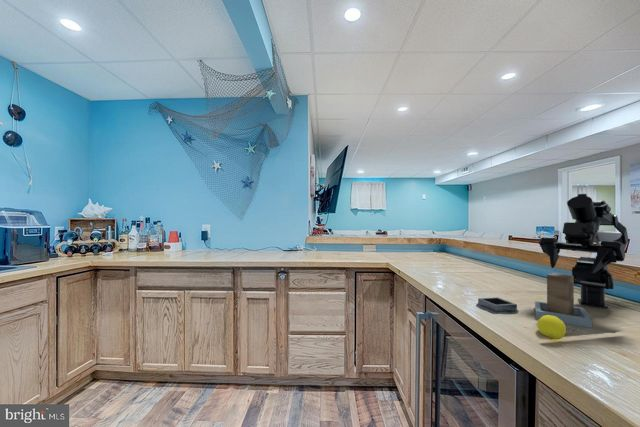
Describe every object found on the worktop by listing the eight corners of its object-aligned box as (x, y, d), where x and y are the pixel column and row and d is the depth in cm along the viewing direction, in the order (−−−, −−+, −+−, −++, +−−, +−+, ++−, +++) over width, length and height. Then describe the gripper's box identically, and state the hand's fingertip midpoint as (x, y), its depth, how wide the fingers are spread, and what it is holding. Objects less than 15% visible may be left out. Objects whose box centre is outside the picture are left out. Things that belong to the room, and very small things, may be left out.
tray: (535, 310, 85) (535, 300, 85) (583, 318, 79) (583, 307, 79) (536, 321, 76) (536, 310, 76) (591, 331, 70) (591, 319, 70)
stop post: (553, 313, 81) (553, 272, 81) (573, 318, 77) (573, 275, 77) (547, 316, 78) (546, 274, 78) (567, 322, 75) (567, 277, 75)
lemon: (565, 348, 62) (564, 325, 62) (535, 340, 66) (534, 318, 66) (567, 334, 67) (567, 313, 67) (539, 328, 71) (539, 308, 71)
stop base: (498, 304, 91) (498, 295, 91) (528, 316, 80) (528, 306, 80) (468, 306, 89) (468, 297, 89) (495, 318, 79) (495, 308, 79)
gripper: (541, 213, 92) (525, 248, 87) (621, 212, 76) (609, 256, 71) (551, 235, 96) (537, 270, 91) (630, 239, 80) (618, 282, 75)
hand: (571, 269), depth 82 cm, fingers open, 9 cm apart
